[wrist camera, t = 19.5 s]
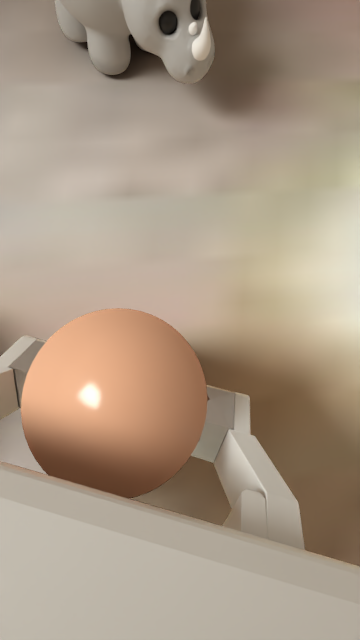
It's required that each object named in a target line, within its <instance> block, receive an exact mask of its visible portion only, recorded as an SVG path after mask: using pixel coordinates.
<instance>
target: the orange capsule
mask: <svg viewBox="0 0 360 640" xmlns="http://www.w3.org/2000/svg"><path fill="white" fill-rule="evenodd" d="M206 413H207V388H206V382H205V377H204V373H203V370H202V367H201V365H200V362H199V360H198V358H197V356H196V354H195V352H194V351H193V349H192V348H191V346H190V345H189V343H188V342H187V341H186V340H185V339H184V337H183V336H182V335H181V334H180V333H179V332H178V331H176V330H175V329H174V328H173V327H172V326H170V325H169V324H167V323H166V322H164V321H163V320H161V319H159V318H157V317H155V316H153V315H151V314H148V313H144V312H141V311H137V310H132V309H120V308H116V309H105V310H99V311H95V312H92V313H88V314H85V315H83V316H81V317H79V318H76V319H74V320H73V321H71V322H69V323H68V324H66V325H65V326H63V327H62V328H61V329H59V330H58V331H57V332H56V333H54V334H53V335H52V336H51V337H50V338H49V339H48V341H47V342H46V343H45V344H44V345H43V347H42V348H41V349H40V350H39V352H38V353H37V355H36V357H35V359H34V360H33V362H32V364H31V366H30V369H29V371H28V373H27V376H26V379H25V383H24V386H23V392H22V398H21V417H22V425H23V430H24V434H25V438H26V440H27V443H28V446H29V448H30V450H31V452H32V454H33V456H34V458H35V459H36V461H37V462H38V463H39V465H40V466H41V468H42V469H43V470H44V471H45V472H46V473H47V474H48V475H50V476H53V477H56V478H60V479H63V480H67V481H70V482H74V483H77V484H80V485H84V486H87V487H91V488H94V489H98V490H101V491H104V492H108V493H111V494H115V495H118V496H121V497H125V498H133V497H137V496H139V495H142V494H145V493H147V492H150V491H152V490H153V489H155V488H157V487H159V486H161V485H162V484H163V483H165V482H166V481H168V480H169V479H170V478H171V477H173V476H174V475H175V474H176V473H177V472H178V471H179V470H180V469H181V468H182V466H183V465H184V464H185V463H186V461H187V460H188V459H189V457H190V456H191V454H192V453H193V451H194V449H195V448H196V446H197V443H198V441H199V439H200V437H201V434H202V431H203V427H204V424H205V419H206Z"/></svg>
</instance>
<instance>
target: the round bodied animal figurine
mask: <svg viewBox="0 0 360 640" xmlns="http://www.w3.org/2000/svg"><path fill="white" fill-rule="evenodd" d="M55 8H56V14H57V18H58V22H59V25H60V28H61V30H62V32H63V34H64V35H65V36H66V37H67V38H68V39H69V40H71V41H74V42H87V44H88V51H89V55H90V58H91V61H92V63H93V65H94V67H95V68H96V69H97V70H98V71H100V72H102V73H104V74H108V75H117V74H120V73H122V72H124V71H125V70H126V69H127V67H128V65H129V63H130V58H131V50H130V43H129V38H128V36H129V35H130V34H132V36H133V37H134V40H135V42H136V44H137V46H138V47H139V48H140V49H142V50H144V51H147V52H150V53H153V54H155V55H157V56H159V57H160V58H161V59H162V60H163V62H164V65H165V67H166V69H167V71H168V72H169V74H170V75H171V76H172V77H173V78H174V79H175V80H177V81H179V82H181V83H188V84H193V83H196V82H198V81H199V80H201V79H202V78H203V77H204V76H205V75H206V73H207V72H208V71H209V68H210V66H211V65H212V62H213V59H214V55H215V45H214V39H213V35H212V32H211V28H210V25H209V22H208V17H207V10H206V0H55Z"/></svg>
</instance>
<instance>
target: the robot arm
mask: <svg viewBox="0 0 360 640" xmlns="http://www.w3.org/2000/svg"><path fill="white" fill-rule="evenodd" d="M46 342H47V341H46V340H42V339H38V338H34V337H31V336H28V335H25V336H22V337H21V338H20V339H19V340H17V341H16V342H15V343H14V344H13V345H12V346H11V347H10V348H9V349H8V350H7V351H6V352H5V353H4V354H3V355H1V356H0V420H1V419H2V418H4V417H6V416H7V415H9V414H11V413H13V412H14V411H16V410H18V409H19V408H21V398H22V392H23V386H24V383H25V379H26V376H27V373H28V371H29V369H30V366H31V364H32V362H33V360H34V359H35V357H36V355H37V353H38V352H39V350H40V349H41V348H42V347H43V345H44V344H45V343H46ZM206 388H207V413H206V419H205V424H204V427H203V431H202V434H201V437H200V439H199V441H198V443H197V446H196V448H195V449H194V451H193V453H192V454H191V456H193V457H197V458H200V459H203V460H206V461H209V462H213V463H214V466H215V469H216V471H217V474H218V476H219V479H220V481H221V484H222V486H223V489H224V491H225V494H226V496H227V499H228V501H229V504H230V506H231V509H232V510H231V512H230V513H229V515H228V517H227V518H226V520H225V522H224V523H223V525H222V526H221V525H217V524H214V523H210V522H207V521H204V520H200V519H197V518H193V517H190V516H187V515H183V514H180V513H176V512H173V511H169V510H166V509H163V508H159V507H156V506H152V505H149V504H145V503H142V502H139V501H135V500H132V499H128V498H125V497H121V496H118V495H115V494H111V493H108V492H104V491H101V490H98V489H94V488H91V487H87V486H84V485H80V484H77V483H74V482H70V481H67V480H63V479H60V478H56V477H53V476H50V475H46V474H43V473H39V472H36V471H32V470H29V469H26V468H22V467H19V466H15V465H12V464H8V463H5V462H2V461H0V640H360V566H358V565H354V564H351V563H347V562H344V561H340V560H337V559H334V558H330V557H327V556H323V555H320V554H316V553H313V552H310V551H306V550H305V546H304V539H303V531H302V524H301V517H300V510H299V503H298V501H297V500H296V498H295V497H294V495H293V494H292V492H291V490H290V489H289V487H288V486H287V484H286V483H285V481H284V480H283V478H282V477H281V475H280V474H279V472H278V471H277V469H276V467H275V466H274V464H273V463H272V461H271V460H270V458H269V457H268V455H267V454H266V452H265V451H264V449H263V448H262V446H261V445H260V443H259V441H258V440H257V438H256V437H255V436H253V435H251V429H250V397H249V395H245V394H241V393H237V392H233V391H229V390H226V389H222V388H218V387H214V386H210V385H206Z"/></svg>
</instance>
